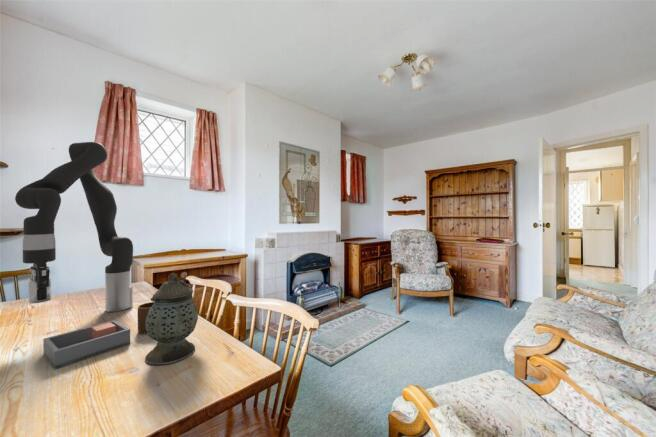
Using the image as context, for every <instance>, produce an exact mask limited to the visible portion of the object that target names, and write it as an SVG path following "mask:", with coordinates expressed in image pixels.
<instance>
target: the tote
mask: <svg viewBox="0 0 656 437" xmlns="http://www.w3.org/2000/svg"><path fill="white" fill-rule="evenodd" d="M106 323H112V324H114V325H116V333H112V334H109V335H105V336H102V337H99V338H95V339H92V327H95V326H99V325H103V324H106ZM42 341H43V347H42V348H43V356H44V357H45V359H46V360H47V361H48V362H49V364H50V365H51V367H52V368H53V369H54V370H57V369H60V368H64V367H66V366H70V365H73V364H75V363H78V362H82V361H84V360H87V359H91V358H93V357H96V356H99V355H102V354H104V353H107V352H111V351H114V350H116V349H120V348H123V347H126V346H128V345H131V329H130V328H129V327H128V326H125V325H123V324H122V323H120V322H118V321H117V320H114V319H113V320H110V321H107V322H106V321H105V322H103V323H99V324H94V325H91V326H86V327H83V328H79V329H76V330H72V331H68V332H64V333H59V334H57V335H53V336H49V337H46V338H43V340H42Z"/></svg>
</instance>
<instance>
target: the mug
mask: <svg viewBox="0 0 656 437" xmlns="http://www.w3.org/2000/svg"><path fill="white" fill-rule="evenodd" d="M154 303H155V302H153V301H151V302H150V301H149V302H146V303H143V304H142V303H141V304H139V305H138V306H137V332H138V333H139V334H142V335H143V334H148V333H147V331H146V329H145V320H146V318H147V315H148V312H149V309H150V308H151V307H152V306H153V304H154Z"/></svg>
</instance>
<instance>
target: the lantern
mask: <svg viewBox="0 0 656 437" xmlns="http://www.w3.org/2000/svg"><path fill="white" fill-rule="evenodd" d="M167 280H168V281H166V282H165V281H164V282H163V283H162V284H161V285H160V287H159V288H158V290H156V291H155V293H154V294H152V297H150V301H151V302H155V303H154V304H153V306H152V307H151V308H150V309H149V312H148V315H147V318H146V320H145V329H146V331H147V333H146V334H147V336H148V337H149V338H150V339H152V340H153V341H155V342H157V343H156V345H155V346H154V347H153V349H151V351H150V352H148V353H147V354H146V355H145V358H144V362H145V363H146V365H149V366H152V367H153V366H154V367H155V366H156V367H161V366H162V367H163V366H169V365H173V364H176V363H179V362H182V361H184V360H186V359H188V358H189V357H191V356H192V355H193V354H194V352H195V351H196V346H195V344H194V343H193V342H191V341H189V340H187V339H186V338H188V337H189V336H190V335H191V334H192V333H193V332H194V331H195V328H196V325H197V322H198V320H199V316H198V313H199V312H198V311H199V310H198V307H197V305H196V302H195V299H194V297H193V293H194V289H193V288H190V287H189V284H188V283H186V282H185V281H184V280H182V279H181V280H180V279H179V278H178V274H177V273H174V272H173V273H170V274H169V275H168V277H167Z"/></svg>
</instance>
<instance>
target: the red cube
mask: <svg viewBox="0 0 656 437" xmlns="http://www.w3.org/2000/svg"><path fill="white" fill-rule="evenodd" d="M112 333H116V325H114V324H112V323H106V324H103V325H99V326H95V327H92V339H95V338H99V337H102V336H105V335H109V334H112Z"/></svg>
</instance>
